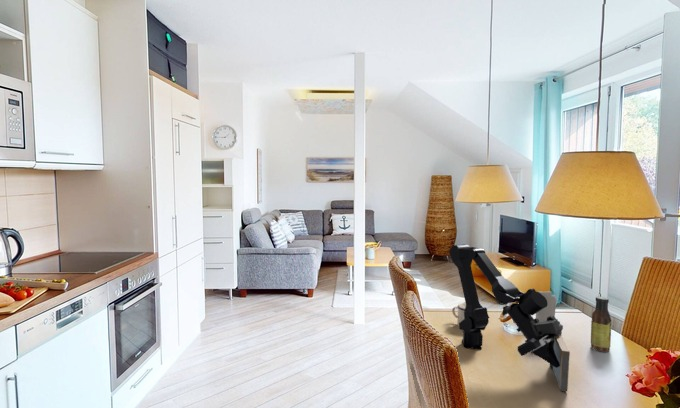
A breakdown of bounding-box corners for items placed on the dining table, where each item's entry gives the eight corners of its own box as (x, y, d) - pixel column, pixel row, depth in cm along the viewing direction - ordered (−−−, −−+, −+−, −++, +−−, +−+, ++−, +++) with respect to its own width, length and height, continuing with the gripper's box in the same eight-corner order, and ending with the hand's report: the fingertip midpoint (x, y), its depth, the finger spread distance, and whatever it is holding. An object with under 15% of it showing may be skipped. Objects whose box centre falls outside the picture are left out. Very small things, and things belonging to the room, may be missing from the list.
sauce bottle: (613, 353, 138) (616, 301, 136) (594, 351, 139) (597, 300, 138) (604, 346, 144) (607, 296, 143) (586, 344, 145) (589, 294, 144)
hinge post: (550, 369, 125) (552, 326, 124) (546, 364, 129) (549, 322, 128) (562, 370, 125) (564, 327, 124) (558, 365, 128) (560, 323, 127)
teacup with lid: (482, 326, 161) (483, 300, 161) (472, 332, 155) (473, 305, 154) (457, 318, 170) (458, 294, 169) (446, 324, 164) (447, 298, 163)
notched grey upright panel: (565, 334, 154) (568, 287, 153) (549, 342, 146) (551, 293, 145) (548, 328, 160) (550, 283, 159) (531, 336, 152) (533, 288, 151)
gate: (552, 368, 125) (554, 332, 125) (558, 369, 125) (560, 333, 124) (559, 390, 112) (562, 350, 111) (567, 391, 111) (569, 351, 111)
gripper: (530, 315, 112) (567, 365, 104) (555, 303, 123) (591, 347, 116) (503, 332, 118) (537, 380, 111) (529, 318, 130) (562, 361, 122)
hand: (558, 366), depth 115 cm, fingers closed
